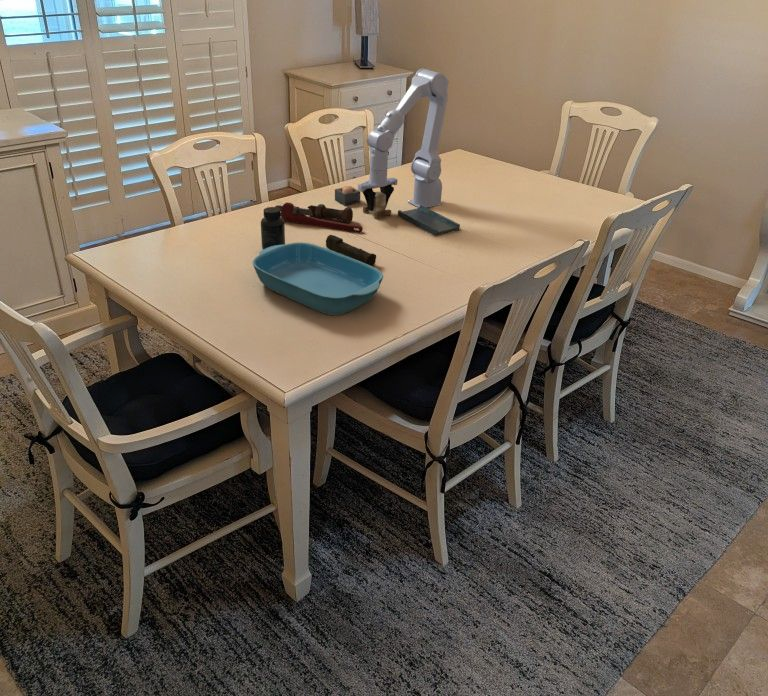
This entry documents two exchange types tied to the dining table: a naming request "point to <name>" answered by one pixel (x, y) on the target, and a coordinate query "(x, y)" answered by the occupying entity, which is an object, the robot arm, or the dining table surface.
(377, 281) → the casserole dish
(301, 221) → the pipe wrench
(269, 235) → the supplement bottle
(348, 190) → the release button
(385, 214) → the socket
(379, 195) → the peg
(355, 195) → the button housing
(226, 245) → the dining table surface
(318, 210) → the bolt
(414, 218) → the tray
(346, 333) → the dining table surface
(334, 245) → the hand tool
